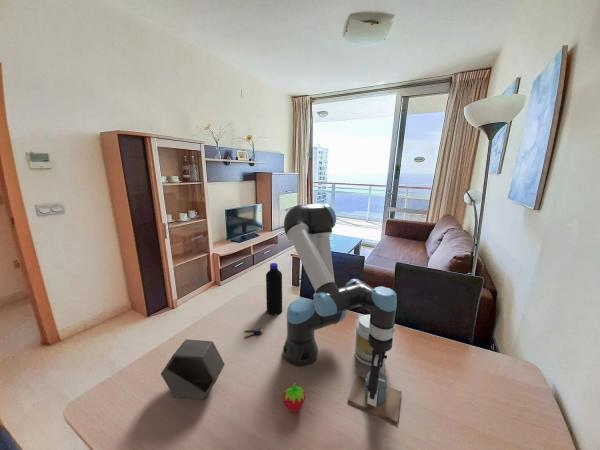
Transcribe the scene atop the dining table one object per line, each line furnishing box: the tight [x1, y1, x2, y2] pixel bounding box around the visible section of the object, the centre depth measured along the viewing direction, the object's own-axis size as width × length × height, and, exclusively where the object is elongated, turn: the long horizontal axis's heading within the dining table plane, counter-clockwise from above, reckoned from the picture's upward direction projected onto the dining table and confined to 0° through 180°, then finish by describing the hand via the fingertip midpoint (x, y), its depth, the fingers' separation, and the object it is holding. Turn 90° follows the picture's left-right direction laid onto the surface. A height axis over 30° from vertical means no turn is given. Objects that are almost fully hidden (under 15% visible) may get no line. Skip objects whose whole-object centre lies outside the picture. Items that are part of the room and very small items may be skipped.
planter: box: [160, 339, 225, 401], centre depth 85 cm, size 17×8×21 cm
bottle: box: [265, 262, 283, 316], centre depth 134 cm, size 9×9×28 cm
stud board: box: [347, 374, 402, 425], centre depth 84 cm, size 16×12×6 cm
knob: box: [365, 371, 388, 405], centre depth 84 cm, size 7×7×7 cm
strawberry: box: [282, 382, 306, 413], centre depth 79 cm, size 6×7×10 cm
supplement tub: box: [354, 314, 374, 367], centre depth 102 cm, size 12×12×17 cm
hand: (375, 388), depth 84 cm, fingers open, 13 cm apart
